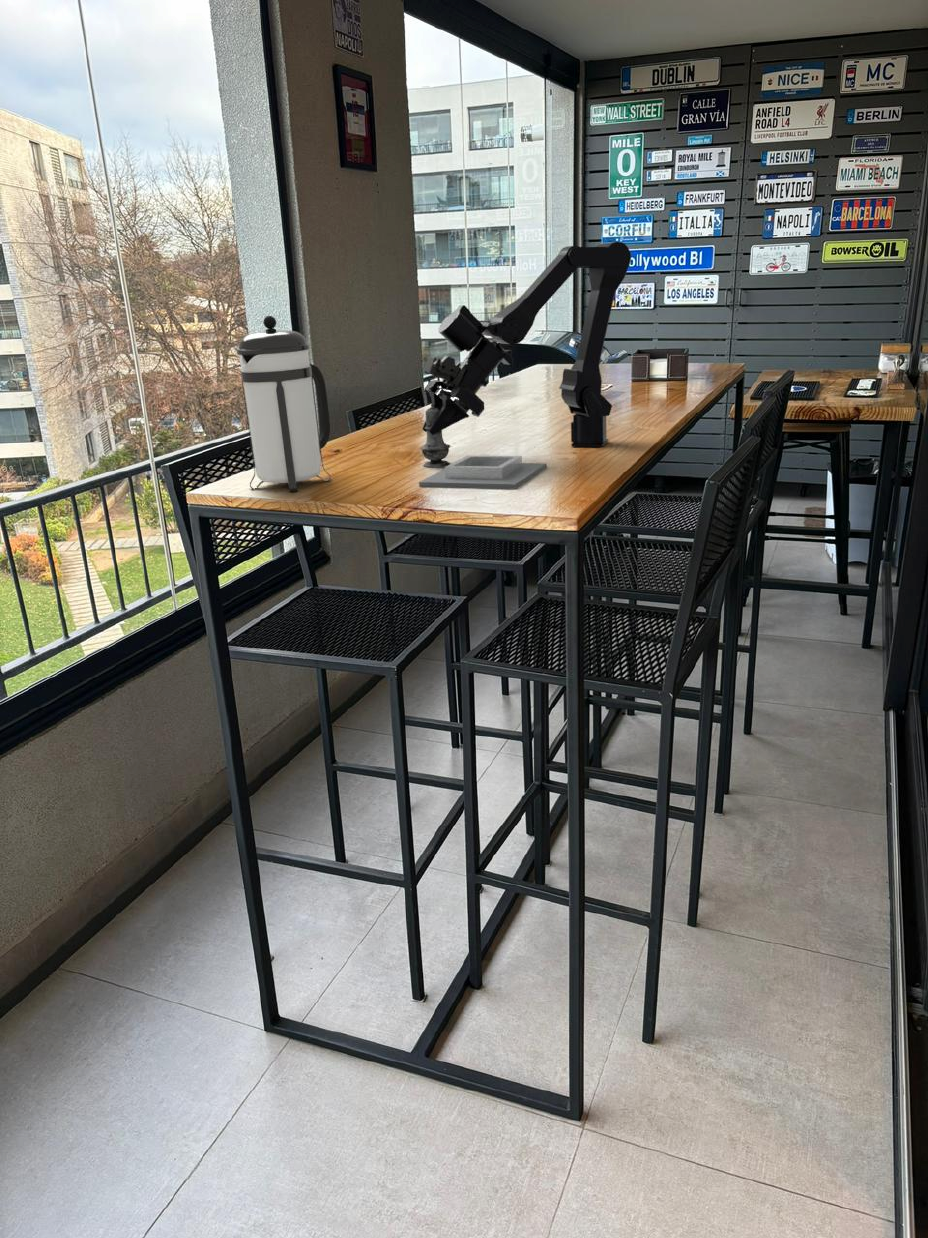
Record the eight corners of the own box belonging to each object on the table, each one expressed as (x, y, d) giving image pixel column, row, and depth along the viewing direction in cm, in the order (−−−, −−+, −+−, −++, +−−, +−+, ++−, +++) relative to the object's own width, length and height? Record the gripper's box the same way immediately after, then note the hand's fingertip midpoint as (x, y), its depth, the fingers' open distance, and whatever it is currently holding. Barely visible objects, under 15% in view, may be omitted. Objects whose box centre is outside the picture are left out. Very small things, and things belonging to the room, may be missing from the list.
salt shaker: (447, 467, 175) (443, 404, 171) (418, 468, 177) (413, 405, 172) (454, 461, 181) (450, 400, 176) (425, 462, 182) (421, 401, 178)
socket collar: (522, 466, 167) (521, 456, 166) (502, 479, 158) (501, 467, 157) (468, 465, 171) (467, 455, 170) (445, 478, 162) (444, 466, 161)
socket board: (546, 467, 169) (546, 463, 169) (515, 488, 154) (515, 484, 153) (458, 466, 176) (457, 462, 176) (419, 486, 160) (418, 481, 160)
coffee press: (338, 488, 163) (318, 313, 153) (248, 497, 161) (222, 319, 151) (335, 470, 179) (317, 311, 169) (253, 478, 177) (229, 317, 167)
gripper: (431, 338, 180) (383, 400, 180) (464, 341, 163) (411, 410, 164) (470, 375, 185) (423, 435, 186) (506, 382, 169) (455, 448, 169)
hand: (427, 431), depth 176 cm, fingers closed on salt shaker, 4 cm apart
